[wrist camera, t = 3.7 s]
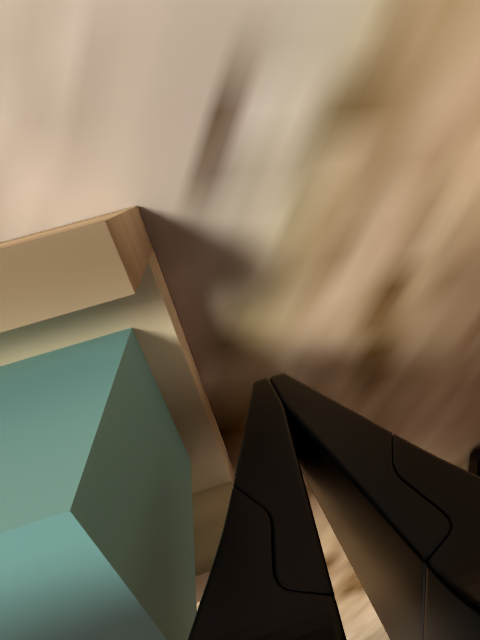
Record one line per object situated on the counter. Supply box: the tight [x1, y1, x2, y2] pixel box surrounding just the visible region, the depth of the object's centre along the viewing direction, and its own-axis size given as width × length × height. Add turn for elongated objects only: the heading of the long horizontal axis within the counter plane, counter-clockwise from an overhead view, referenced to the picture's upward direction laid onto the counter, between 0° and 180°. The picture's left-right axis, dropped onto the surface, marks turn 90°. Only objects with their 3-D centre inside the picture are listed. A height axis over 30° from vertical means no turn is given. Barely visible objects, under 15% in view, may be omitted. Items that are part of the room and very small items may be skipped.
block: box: [0, 328, 197, 640], centre depth 7 cm, size 5×5×5 cm
